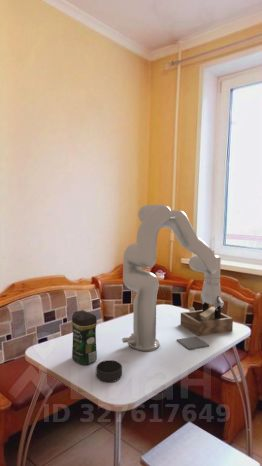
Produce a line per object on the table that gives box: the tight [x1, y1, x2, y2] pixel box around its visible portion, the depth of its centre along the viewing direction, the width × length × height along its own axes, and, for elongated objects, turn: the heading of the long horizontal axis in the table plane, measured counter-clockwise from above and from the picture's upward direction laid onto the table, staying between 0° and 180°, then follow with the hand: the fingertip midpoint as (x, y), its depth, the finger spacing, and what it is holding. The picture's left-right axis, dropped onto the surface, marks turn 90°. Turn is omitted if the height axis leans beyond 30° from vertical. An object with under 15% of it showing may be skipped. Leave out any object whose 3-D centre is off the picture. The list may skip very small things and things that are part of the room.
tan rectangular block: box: [200, 306, 215, 321], centre depth 160 cm, size 8×5×3 cm, turn 112°
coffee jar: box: [71, 309, 98, 365], centre depth 124 cm, size 10×8×19 cm
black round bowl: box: [95, 359, 123, 383], centre depth 113 cm, size 9×9×4 cm
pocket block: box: [180, 309, 234, 337], centre depth 160 cm, size 19×16×6 cm
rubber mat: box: [176, 335, 210, 351], centre depth 141 cm, size 10×10×1 cm
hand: (211, 314), depth 160 cm, fingers open, 9 cm apart
